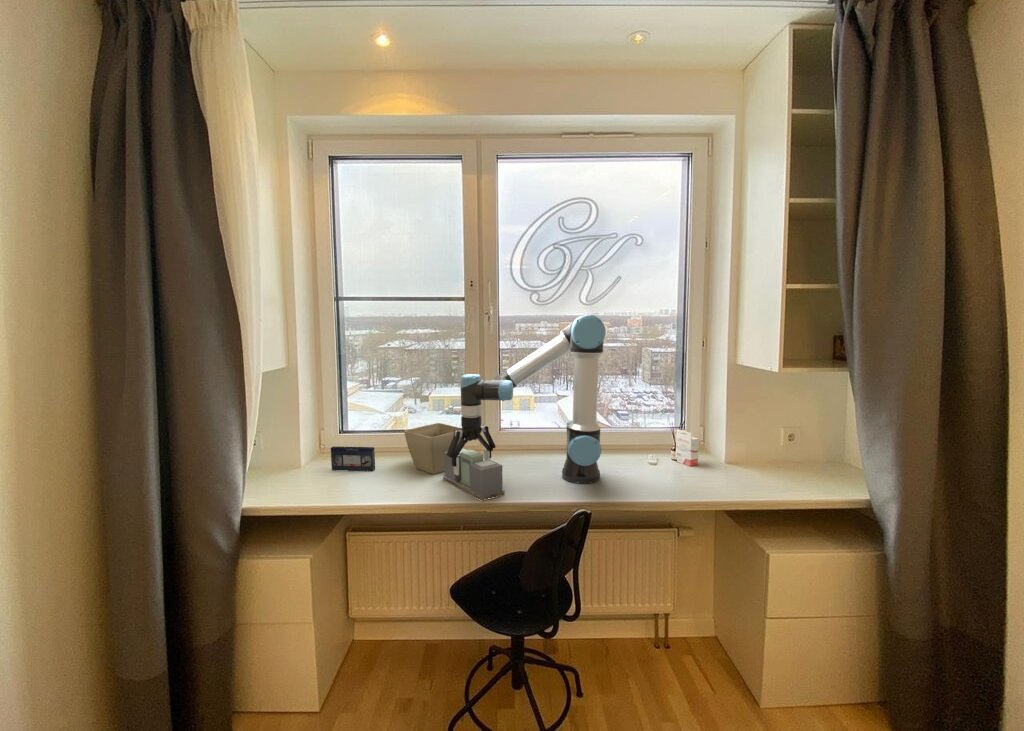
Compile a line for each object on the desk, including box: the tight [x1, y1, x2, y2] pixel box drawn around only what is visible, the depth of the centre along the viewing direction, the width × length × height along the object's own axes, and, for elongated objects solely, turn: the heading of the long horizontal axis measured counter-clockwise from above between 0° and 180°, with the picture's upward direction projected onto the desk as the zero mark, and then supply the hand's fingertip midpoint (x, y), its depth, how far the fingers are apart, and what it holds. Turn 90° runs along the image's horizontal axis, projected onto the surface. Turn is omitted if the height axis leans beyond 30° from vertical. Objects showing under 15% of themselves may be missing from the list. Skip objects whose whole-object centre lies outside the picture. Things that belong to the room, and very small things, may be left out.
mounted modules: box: [444, 447, 504, 497], centre depth 171 cm, size 9×27×11 cm, turn 37°
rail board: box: [442, 474, 506, 501], centre depth 171 cm, size 10×28×2 cm, turn 37°
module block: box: [461, 449, 484, 487], centre depth 171 cm, size 5×8×12 cm, turn 37°
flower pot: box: [403, 422, 462, 475], centre depth 192 cm, size 19×19×17 cm
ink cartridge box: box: [675, 428, 699, 467], centre depth 197 cm, size 9×5×15 cm, turn 28°
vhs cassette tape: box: [330, 446, 376, 472], centre depth 191 cm, size 18×3×10 cm, turn 83°
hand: (472, 470), depth 171 cm, fingers open, 13 cm apart
